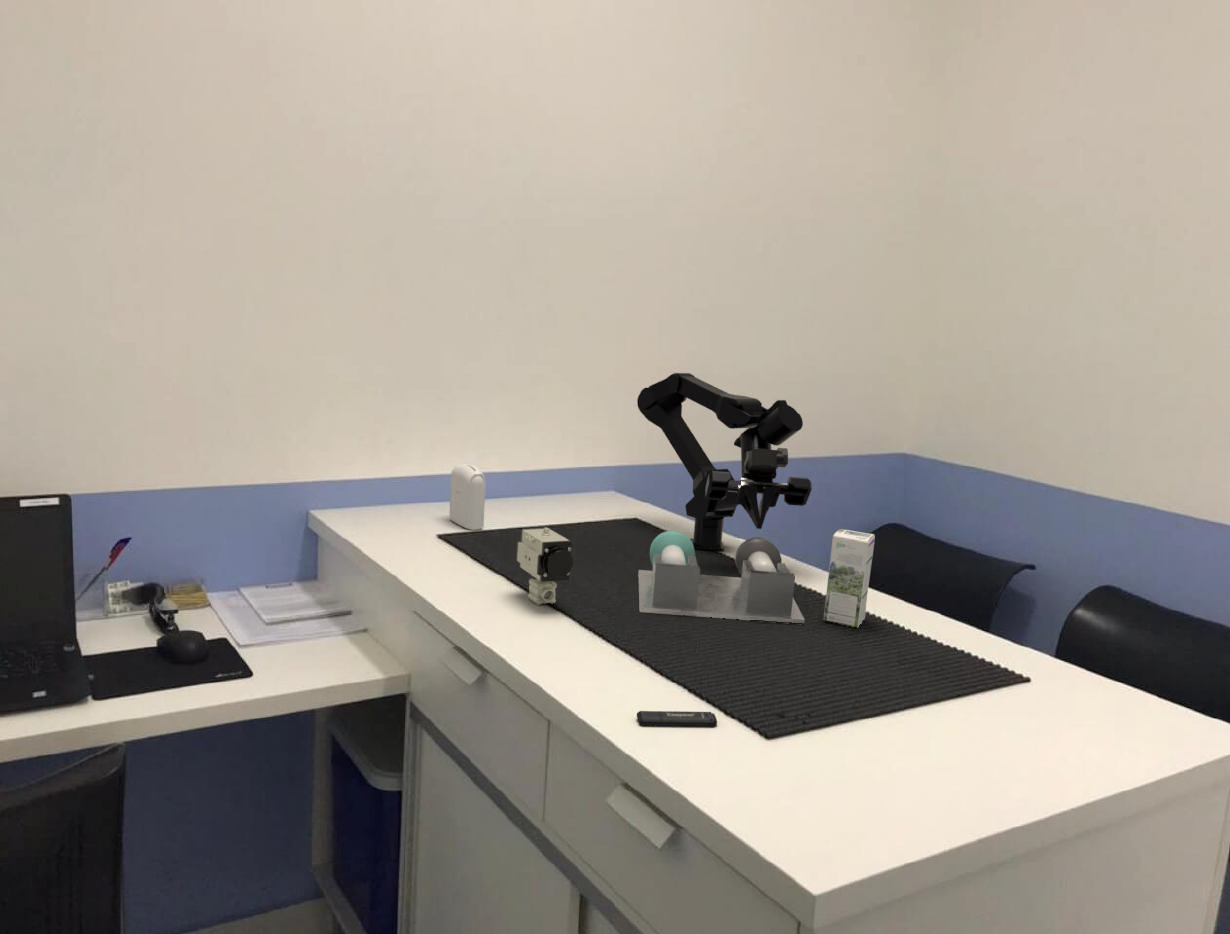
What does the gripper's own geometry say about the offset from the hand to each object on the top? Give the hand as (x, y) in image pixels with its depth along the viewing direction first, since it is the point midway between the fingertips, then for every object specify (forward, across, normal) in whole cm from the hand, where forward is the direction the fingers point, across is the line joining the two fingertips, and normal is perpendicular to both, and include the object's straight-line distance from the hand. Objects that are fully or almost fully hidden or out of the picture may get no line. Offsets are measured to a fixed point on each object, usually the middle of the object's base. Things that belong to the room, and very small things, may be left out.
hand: (759, 527), depth 185 cm
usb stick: (+53, -19, -38) cm, 68 cm away
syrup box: (+22, +12, -8) cm, 26 cm away
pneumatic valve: (+22, -38, -8) cm, 44 cm away
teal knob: (+13, -16, -1) cm, 20 cm away
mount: (+16, -8, -2) cm, 18 cm away
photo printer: (-11, -55, +25) cm, 62 cm away
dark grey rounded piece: (+13, -1, -1) cm, 13 cm away
